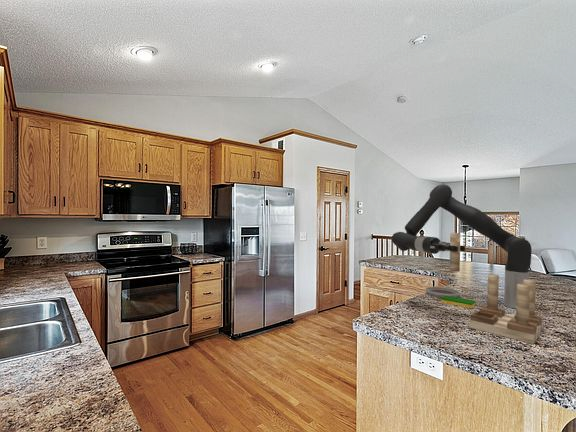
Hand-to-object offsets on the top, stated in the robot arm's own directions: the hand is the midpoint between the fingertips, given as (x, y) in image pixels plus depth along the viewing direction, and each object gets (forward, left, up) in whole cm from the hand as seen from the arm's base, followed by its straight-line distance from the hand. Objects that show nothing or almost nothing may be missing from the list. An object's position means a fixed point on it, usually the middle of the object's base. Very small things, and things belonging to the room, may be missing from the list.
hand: (461, 248), depth 131 cm
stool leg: (0, -3, -10) cm, 10 cm away
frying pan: (-27, -40, -30) cm, 57 cm away
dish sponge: (-18, -20, -30) cm, 40 cm away
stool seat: (-11, +12, -30) cm, 34 cm away
